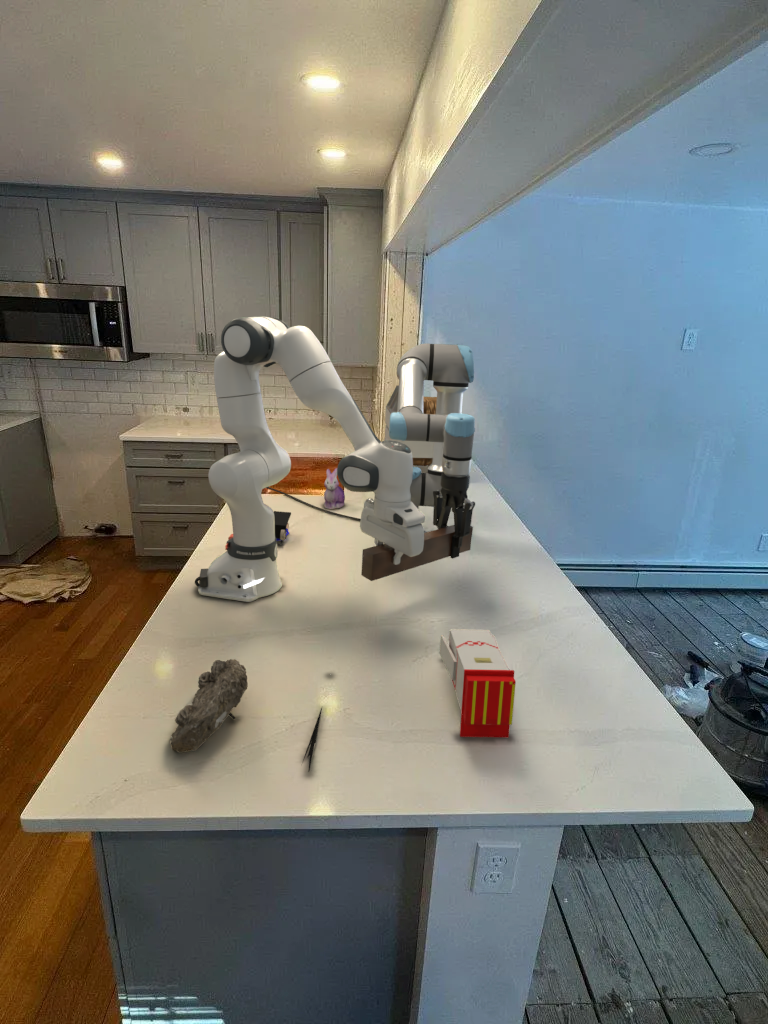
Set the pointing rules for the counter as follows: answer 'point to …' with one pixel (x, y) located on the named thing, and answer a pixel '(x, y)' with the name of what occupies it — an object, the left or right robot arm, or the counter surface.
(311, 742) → the feather
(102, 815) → the counter surface
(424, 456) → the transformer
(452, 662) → the toy
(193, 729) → the fossil
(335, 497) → the figurine
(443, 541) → the walnut rail
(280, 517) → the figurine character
